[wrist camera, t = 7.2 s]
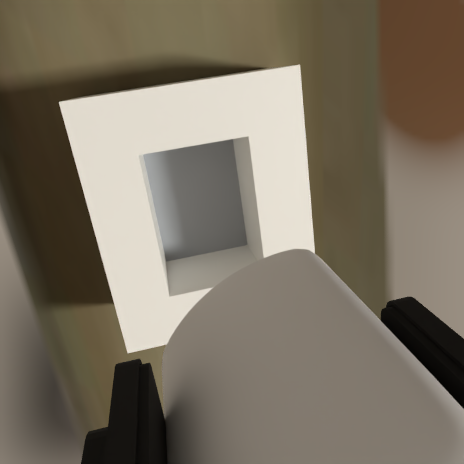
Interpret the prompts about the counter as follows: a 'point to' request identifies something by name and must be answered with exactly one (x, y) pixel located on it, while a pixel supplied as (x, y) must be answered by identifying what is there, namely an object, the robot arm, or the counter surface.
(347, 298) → the eye dropper bottle
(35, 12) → the counter surface
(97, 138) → the keyed holder
